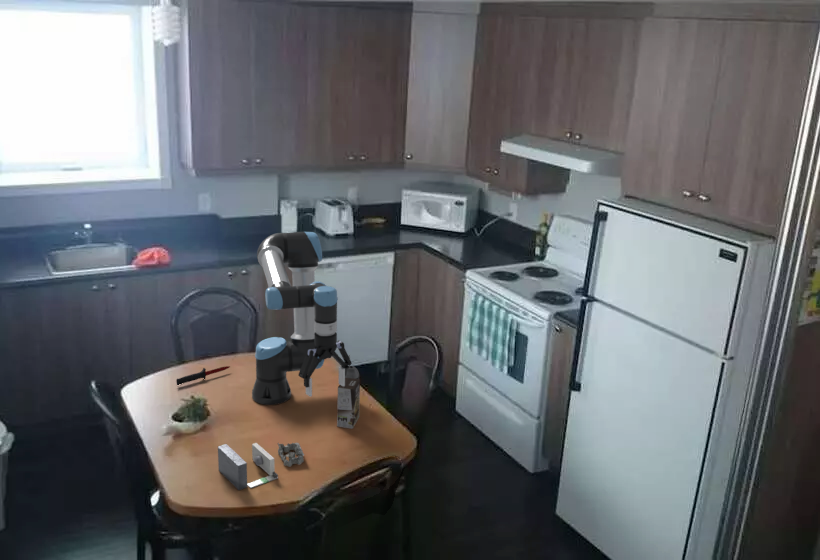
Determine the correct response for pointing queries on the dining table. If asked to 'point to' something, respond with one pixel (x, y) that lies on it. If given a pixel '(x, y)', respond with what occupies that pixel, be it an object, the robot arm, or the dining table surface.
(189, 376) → the knife
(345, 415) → the coffee box
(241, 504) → the dining table surface
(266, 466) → the spring plate
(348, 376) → the beverage cup
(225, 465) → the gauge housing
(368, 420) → the dining table surface
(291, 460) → the egg carton
